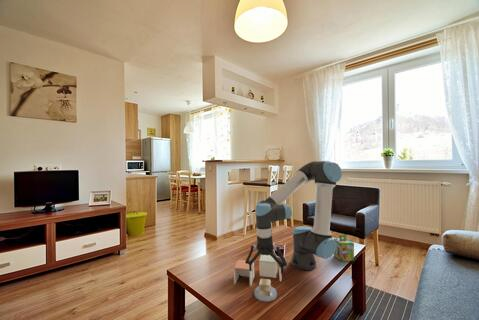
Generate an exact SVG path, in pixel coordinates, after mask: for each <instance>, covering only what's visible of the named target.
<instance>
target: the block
mask: <svg viewBox="0 0 479 320" xmlns="http://www.w3.org/2000/svg"><path fill="white" fill-rule="evenodd" d="M271 283H272V281H271V279H268V278H260V280H259V283H258V287H259V295H266V296H270V292H271V287H272V284H271Z"/></svg>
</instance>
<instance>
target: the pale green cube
mask: <svg viewBox="0 0 479 320" xmlns="http://www.w3.org/2000/svg"><path fill="white" fill-rule="evenodd" d="M275 255H276V256H277V257H278V254H275ZM258 261H259V262H258V263H259V264H258V265H259V266H258V267H259V268H258V269H259V270H258V271H259V277H266V278H275V279H277V273H278V263H277V262H276V261H275V260H274V259H273V257H271V256H270V255H262V254H260V258H259V259H258Z"/></svg>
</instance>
